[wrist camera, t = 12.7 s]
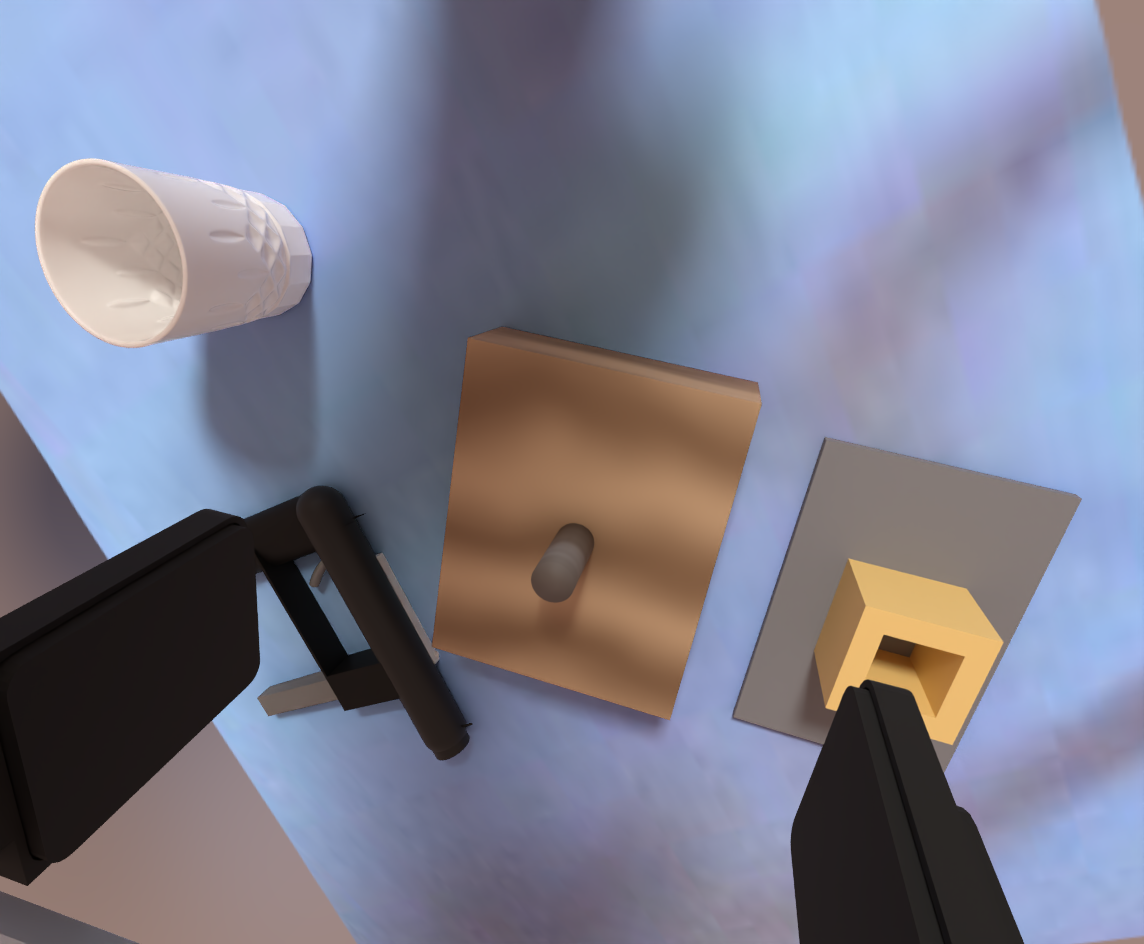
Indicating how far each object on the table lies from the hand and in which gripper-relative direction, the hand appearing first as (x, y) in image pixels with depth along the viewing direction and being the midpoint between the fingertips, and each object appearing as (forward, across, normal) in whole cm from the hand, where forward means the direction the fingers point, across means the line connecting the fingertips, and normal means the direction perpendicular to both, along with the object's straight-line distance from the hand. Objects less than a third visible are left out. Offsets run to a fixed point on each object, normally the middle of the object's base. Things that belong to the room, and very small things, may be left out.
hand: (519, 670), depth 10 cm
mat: (+26, -14, +12) cm, 32 cm away
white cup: (+27, +24, -1) cm, 36 cm away
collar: (+25, -14, +12) cm, 31 cm away
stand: (+26, +2, +9) cm, 28 cm away
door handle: (+26, +19, +24) cm, 40 cm away
